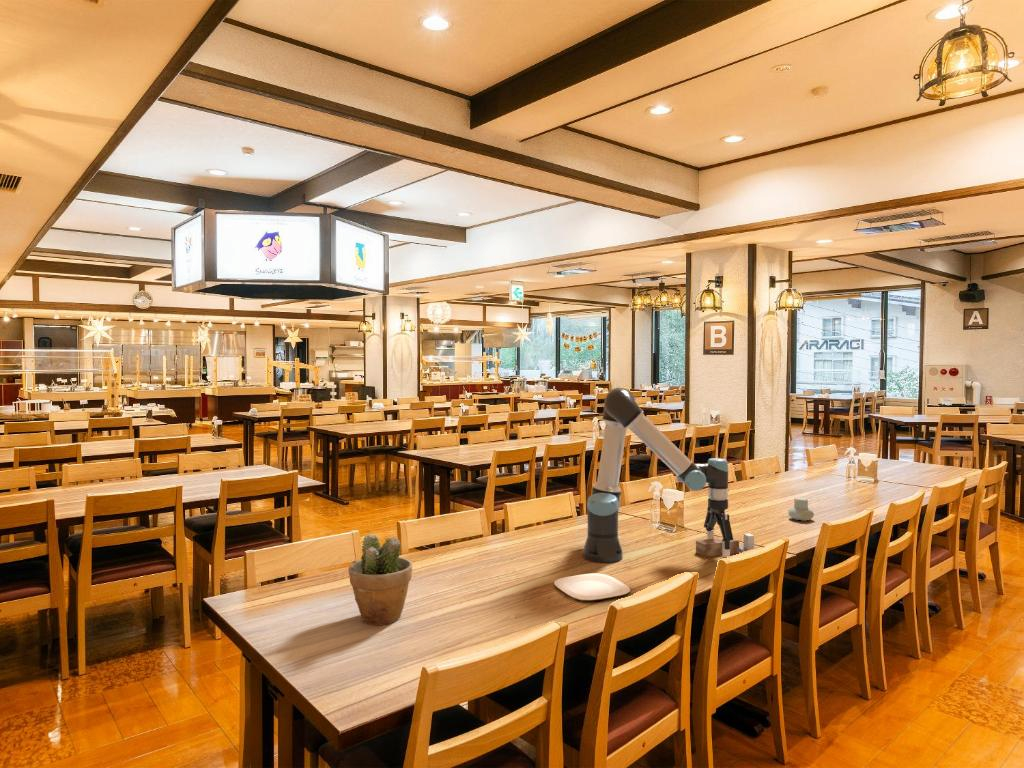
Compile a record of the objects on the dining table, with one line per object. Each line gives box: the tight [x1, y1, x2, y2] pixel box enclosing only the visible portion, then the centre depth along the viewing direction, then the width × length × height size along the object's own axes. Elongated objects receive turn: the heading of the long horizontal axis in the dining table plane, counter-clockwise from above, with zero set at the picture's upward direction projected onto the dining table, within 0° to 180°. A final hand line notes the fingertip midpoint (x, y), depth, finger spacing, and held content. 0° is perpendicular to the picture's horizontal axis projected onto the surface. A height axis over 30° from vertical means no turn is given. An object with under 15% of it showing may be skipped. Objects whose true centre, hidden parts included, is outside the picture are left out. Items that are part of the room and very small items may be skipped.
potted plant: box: [348, 534, 413, 626], centre depth 184 cm, size 18×19×25 cm
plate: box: [554, 572, 631, 602], centre depth 207 cm, size 22×22×2 cm
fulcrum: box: [739, 533, 757, 553], centre depth 248 cm, size 7×8×6 cm
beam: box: [695, 537, 740, 558], centre depth 247 cm, size 16×6×5 cm, turn 108°
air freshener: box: [788, 497, 814, 522], centre depth 297 cm, size 11×8×10 cm
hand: (717, 552), depth 247 cm, fingers open, 13 cm apart
